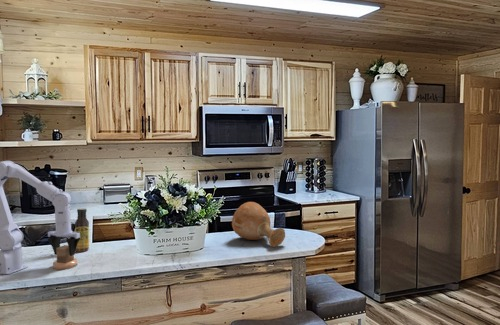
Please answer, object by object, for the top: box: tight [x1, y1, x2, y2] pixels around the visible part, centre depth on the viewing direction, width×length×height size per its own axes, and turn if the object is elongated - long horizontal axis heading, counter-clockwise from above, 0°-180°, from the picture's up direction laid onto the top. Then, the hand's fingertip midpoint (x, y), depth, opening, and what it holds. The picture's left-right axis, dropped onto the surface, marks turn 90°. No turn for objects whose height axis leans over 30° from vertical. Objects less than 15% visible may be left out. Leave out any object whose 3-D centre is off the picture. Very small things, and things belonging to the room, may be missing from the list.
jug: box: [231, 201, 286, 248], centre depth 197 cm, size 20×19×30 cm
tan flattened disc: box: [52, 257, 78, 271], centre depth 164 cm, size 9×9×2 cm
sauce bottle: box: [74, 207, 90, 253], centre depth 186 cm, size 6×6×20 cm
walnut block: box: [56, 244, 75, 263], centre depth 163 cm, size 4×4×6 cm
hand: (64, 254), depth 163 cm, fingers open, 7 cm apart
